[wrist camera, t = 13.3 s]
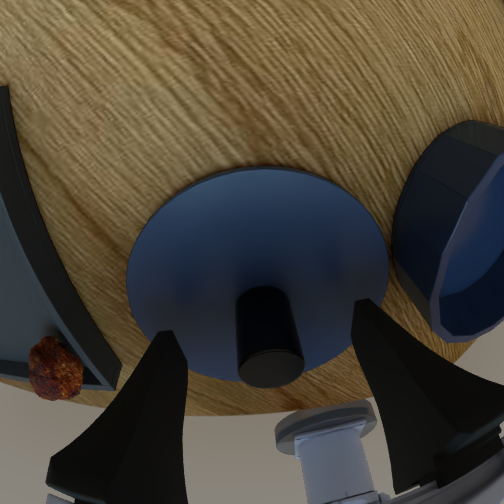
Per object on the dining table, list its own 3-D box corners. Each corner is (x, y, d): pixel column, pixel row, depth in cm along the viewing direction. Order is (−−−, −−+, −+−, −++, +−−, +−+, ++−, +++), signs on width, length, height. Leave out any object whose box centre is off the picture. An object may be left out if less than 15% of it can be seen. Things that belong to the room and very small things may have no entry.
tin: (498, 279, 15) (526, 310, 12) (378, 317, 15) (405, 367, 12) (527, 130, 9) (572, 150, 6) (395, 113, 9) (456, 128, 6)
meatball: (98, 362, 15) (82, 416, 11) (58, 360, 15) (39, 407, 11) (70, 321, 13) (44, 378, 9) (30, 322, 13) (3, 370, 9)
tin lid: (365, 346, 16) (390, 405, 12) (178, 375, 16) (171, 439, 12) (386, 148, 10) (459, 185, 6) (95, 195, 10) (37, 253, 6)
